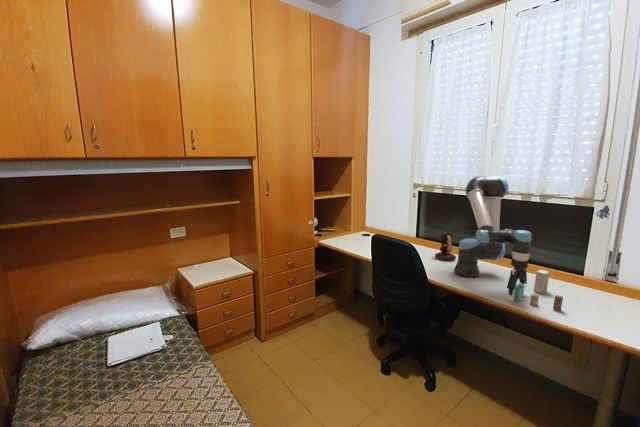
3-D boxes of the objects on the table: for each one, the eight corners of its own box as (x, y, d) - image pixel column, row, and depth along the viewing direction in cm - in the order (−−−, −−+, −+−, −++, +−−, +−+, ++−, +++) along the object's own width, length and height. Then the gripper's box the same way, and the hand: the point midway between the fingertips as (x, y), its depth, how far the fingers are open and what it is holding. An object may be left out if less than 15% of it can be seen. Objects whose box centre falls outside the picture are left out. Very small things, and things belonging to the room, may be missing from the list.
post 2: (552, 309, 147) (554, 296, 146) (554, 307, 148) (556, 295, 147) (559, 311, 145) (561, 298, 144) (561, 309, 146) (563, 296, 145)
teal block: (508, 296, 161) (509, 285, 159) (512, 294, 164) (513, 283, 162) (518, 300, 156) (520, 288, 155) (522, 297, 159) (524, 286, 158)
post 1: (529, 304, 152) (531, 295, 152) (531, 302, 154) (533, 293, 153) (535, 306, 150) (536, 296, 150) (537, 304, 152) (538, 295, 151)
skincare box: (538, 288, 171) (540, 269, 169) (547, 291, 167) (550, 271, 165) (533, 291, 167) (536, 271, 165) (542, 294, 164) (545, 273, 162)
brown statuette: (449, 263, 215) (451, 237, 211) (431, 258, 226) (432, 233, 223) (459, 259, 223) (461, 234, 220) (441, 254, 235) (443, 230, 232)
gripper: (518, 265, 146) (513, 305, 150) (537, 256, 160) (532, 293, 164) (502, 261, 152) (497, 300, 156) (521, 253, 166) (517, 289, 170)
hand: (515, 297), depth 160 cm, fingers open, 12 cm apart
